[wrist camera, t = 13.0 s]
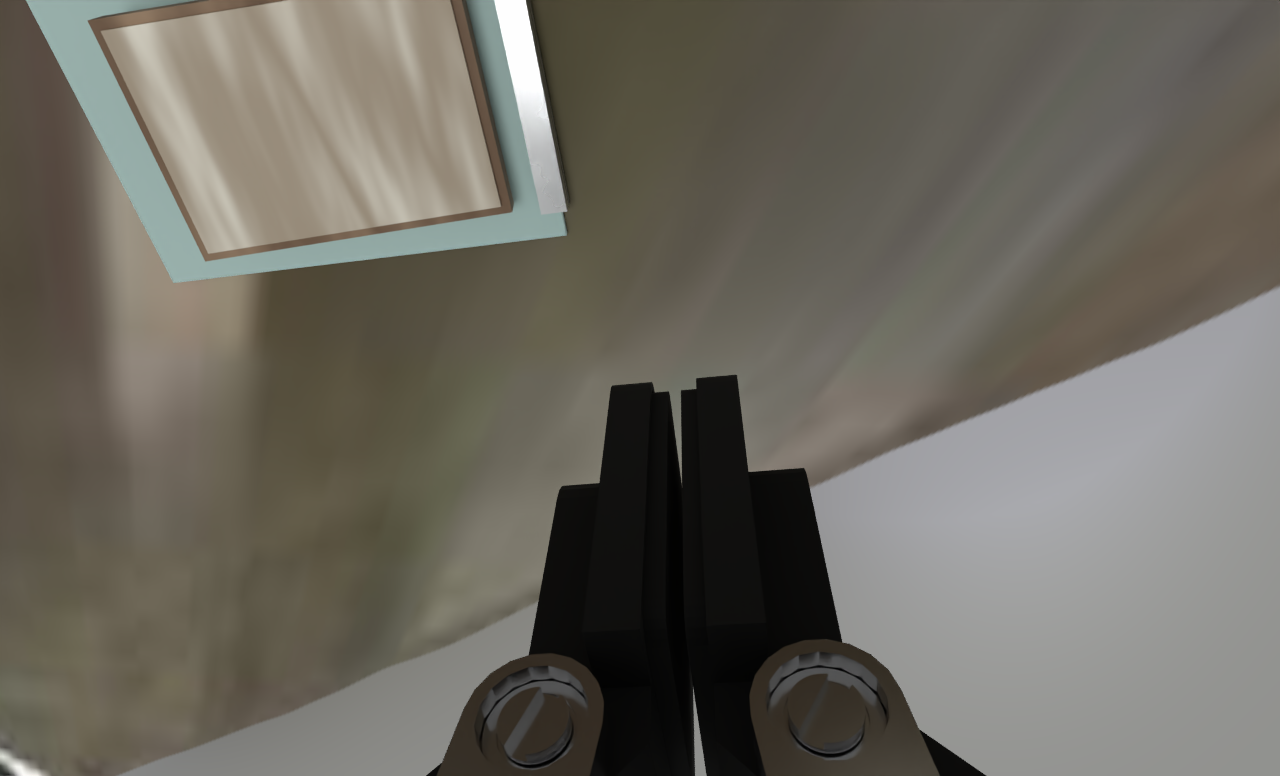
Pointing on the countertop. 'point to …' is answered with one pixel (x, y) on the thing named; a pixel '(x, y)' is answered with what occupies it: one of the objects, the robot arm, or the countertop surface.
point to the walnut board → (310, 117)
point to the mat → (63, 19)
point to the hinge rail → (533, 103)
